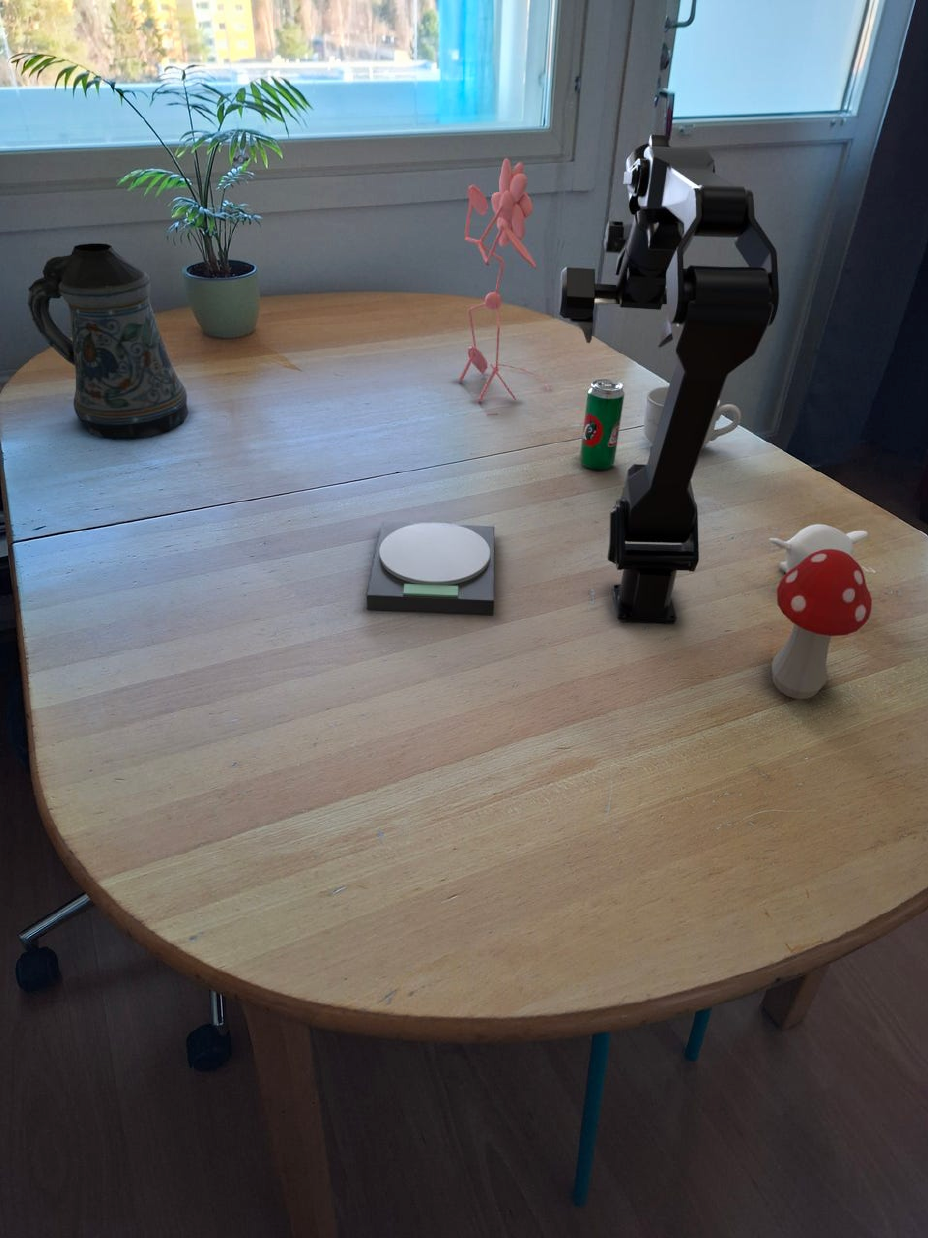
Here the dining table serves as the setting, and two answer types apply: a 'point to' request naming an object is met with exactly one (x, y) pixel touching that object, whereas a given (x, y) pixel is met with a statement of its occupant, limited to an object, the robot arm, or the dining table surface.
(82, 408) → the beer stein
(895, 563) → the dining table surface
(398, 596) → the kitchen scale
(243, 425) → the dining table surface
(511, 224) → the figurine
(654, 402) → the teacup
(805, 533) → the figurine
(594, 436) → the soda can
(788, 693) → the decorative mushroom
